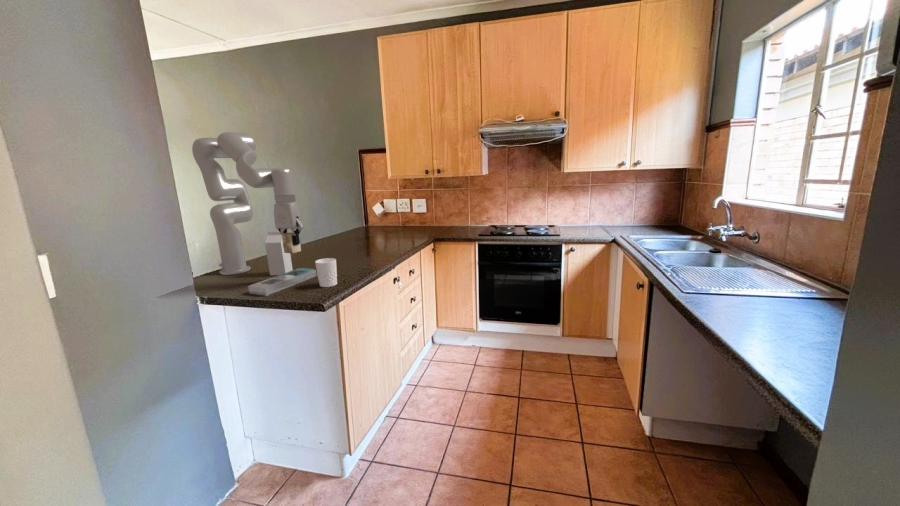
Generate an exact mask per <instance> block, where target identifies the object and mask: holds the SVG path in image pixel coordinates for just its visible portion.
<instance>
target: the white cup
mask: <svg viewBox="0 0 900 506" xmlns="http://www.w3.org/2000/svg"><path fill="white" fill-rule="evenodd" d="M314 264H315V270H316V275H317V276H316V277H317V279H318V283H319V287H320V288H330V287H334V286H336V285H338V271H337V270H338V268H337V266H338V265H337V259H336V258H333V257H330V258H329V257H326V258H320V259H317V260H315V262H314Z"/></svg>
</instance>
